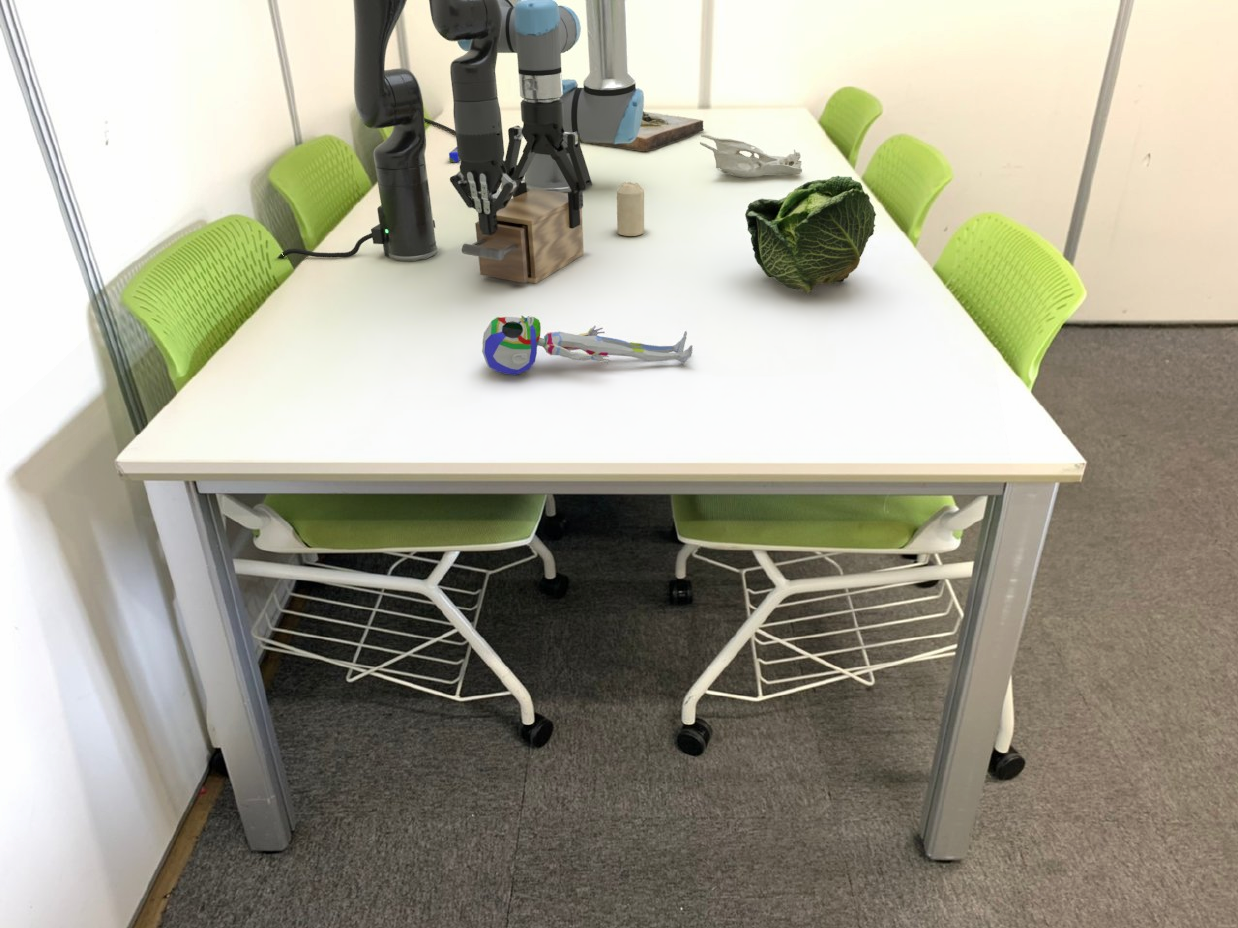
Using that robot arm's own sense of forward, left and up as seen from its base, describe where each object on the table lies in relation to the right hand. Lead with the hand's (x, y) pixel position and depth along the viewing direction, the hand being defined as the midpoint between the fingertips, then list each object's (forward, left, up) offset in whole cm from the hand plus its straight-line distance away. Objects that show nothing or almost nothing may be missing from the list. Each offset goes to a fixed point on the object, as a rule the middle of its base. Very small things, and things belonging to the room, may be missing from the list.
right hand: (548, 222), depth 170 cm
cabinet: (+1, -5, -7) cm, 8 cm away
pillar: (-79, +40, -7) cm, 89 cm away
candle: (+2, +21, -7) cm, 22 cm away
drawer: (+3, -11, -6) cm, 13 cm away
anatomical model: (-7, +73, -7) cm, 73 cm away
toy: (+40, -28, -7) cm, 49 cm away
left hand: (+5, -18, +3) cm, 19 cm away
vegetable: (+45, +21, -7) cm, 50 cm away
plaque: (-59, +85, -7) cm, 104 cm away
